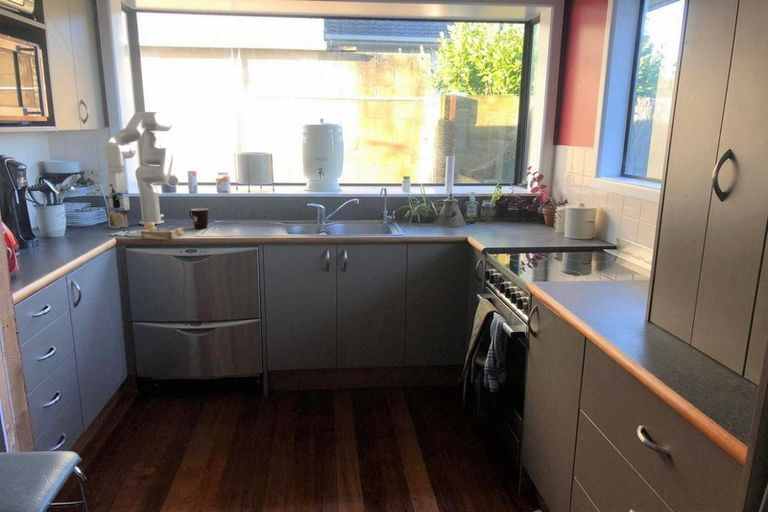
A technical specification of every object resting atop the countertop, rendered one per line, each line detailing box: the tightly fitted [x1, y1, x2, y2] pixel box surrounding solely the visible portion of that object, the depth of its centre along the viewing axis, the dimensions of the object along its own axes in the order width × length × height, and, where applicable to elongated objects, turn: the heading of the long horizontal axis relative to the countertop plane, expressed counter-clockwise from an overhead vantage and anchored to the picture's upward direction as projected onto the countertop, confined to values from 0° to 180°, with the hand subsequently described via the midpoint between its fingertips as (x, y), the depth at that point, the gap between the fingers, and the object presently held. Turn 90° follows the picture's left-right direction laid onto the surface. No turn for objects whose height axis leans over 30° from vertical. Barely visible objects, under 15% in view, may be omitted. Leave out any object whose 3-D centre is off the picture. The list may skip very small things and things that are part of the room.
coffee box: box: [104, 196, 130, 229], centre depth 297 cm, size 9×6×16 cm
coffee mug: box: [188, 207, 209, 230], centre depth 296 cm, size 12×9×10 cm
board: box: [109, 230, 129, 237], centre depth 280 cm, size 10×9×1 cm
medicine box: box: [108, 192, 131, 211], centre depth 276 cm, size 8×4×9 cm, turn 81°
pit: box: [128, 229, 143, 237], centre depth 277 cm, size 7×7×2 cm
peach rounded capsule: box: [143, 222, 156, 230], centre depth 285 cm, size 5×5×5 cm
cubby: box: [140, 226, 185, 241], centre depth 274 cm, size 14×15×4 cm
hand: (119, 206), depth 277 cm, fingers closed on medicine box, 4 cm apart
